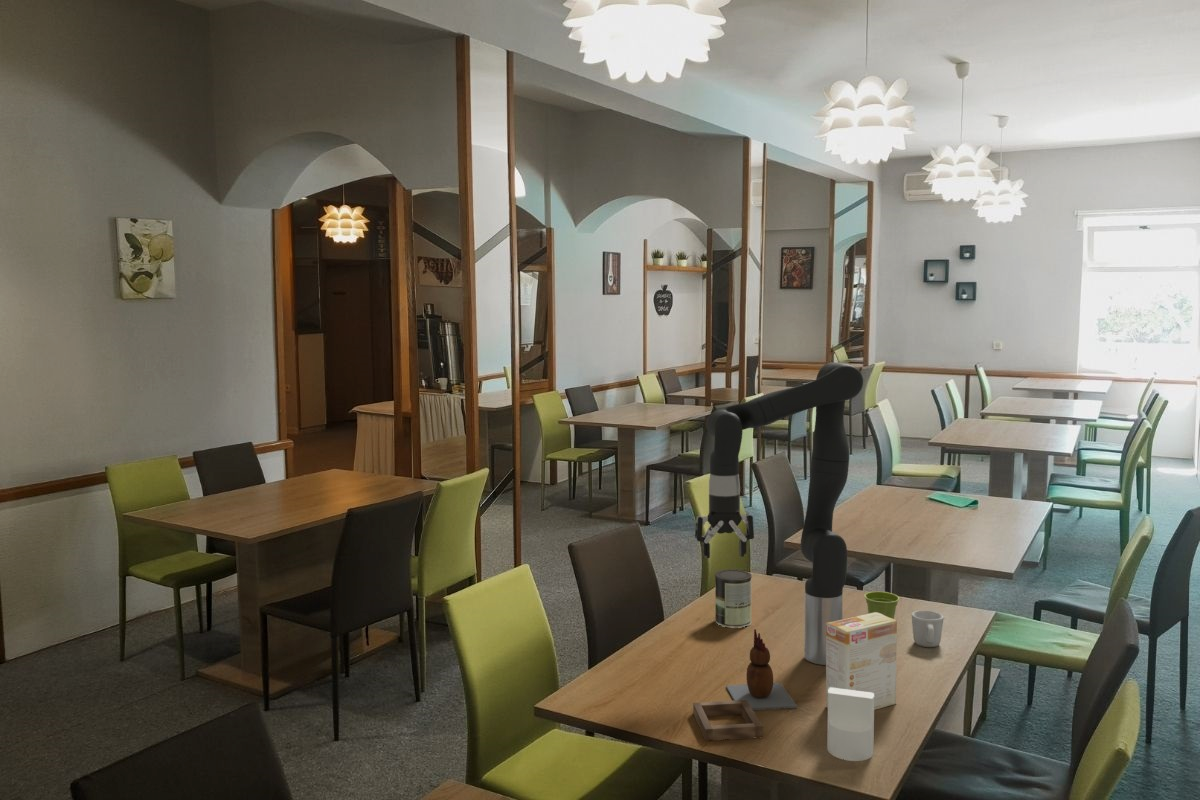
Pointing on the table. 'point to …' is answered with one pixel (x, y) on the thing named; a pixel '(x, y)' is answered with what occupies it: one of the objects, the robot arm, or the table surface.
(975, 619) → the table surface
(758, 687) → the wooden figurine
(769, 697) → the mat
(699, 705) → the square wooden frame
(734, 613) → the coffee can
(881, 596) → the plant pot
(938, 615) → the cup
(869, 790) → the table surface
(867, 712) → the base with upright slab
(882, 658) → the coffeecake box
